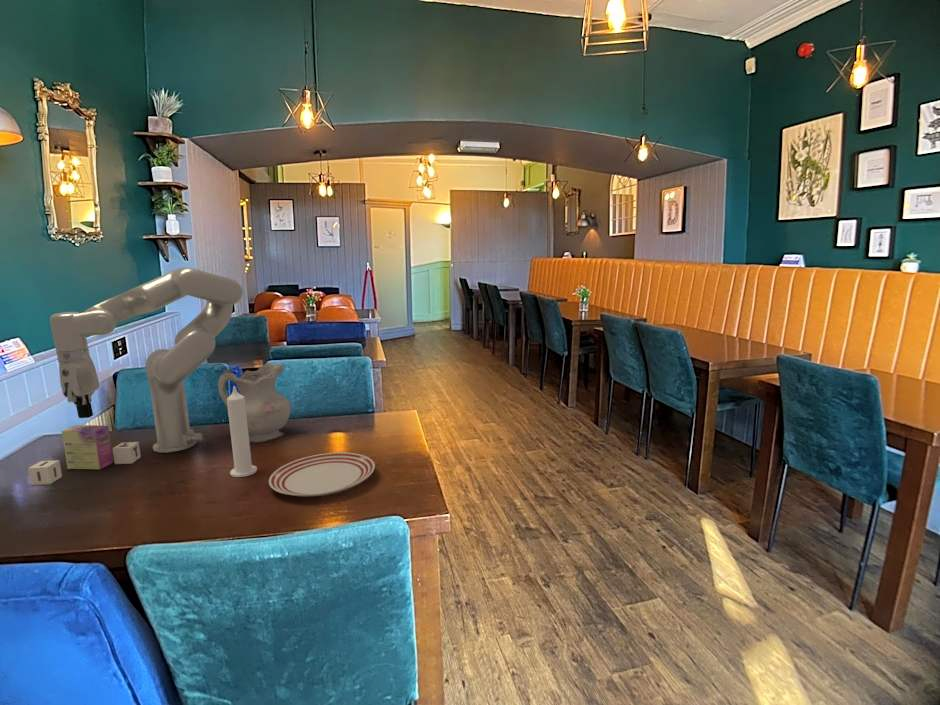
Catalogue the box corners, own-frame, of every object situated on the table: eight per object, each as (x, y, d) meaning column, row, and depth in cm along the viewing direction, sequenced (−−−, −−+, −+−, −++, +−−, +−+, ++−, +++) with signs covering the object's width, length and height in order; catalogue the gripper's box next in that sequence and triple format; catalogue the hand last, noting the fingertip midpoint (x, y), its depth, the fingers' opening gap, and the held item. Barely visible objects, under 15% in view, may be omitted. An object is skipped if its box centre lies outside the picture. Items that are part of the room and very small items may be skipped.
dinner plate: (278, 515, 130) (277, 502, 130) (262, 475, 154) (261, 463, 154) (389, 489, 143) (389, 477, 142) (359, 455, 167) (358, 445, 166)
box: (114, 462, 167) (108, 424, 164) (100, 470, 161) (93, 431, 159) (82, 462, 168) (76, 424, 165) (67, 469, 162) (60, 430, 160)
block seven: (141, 457, 170) (139, 441, 169) (132, 463, 165) (130, 447, 164) (124, 458, 170) (121, 442, 169) (114, 464, 165) (112, 447, 164)
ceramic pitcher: (248, 455, 172) (244, 378, 166) (210, 441, 182) (205, 367, 176) (303, 435, 190) (301, 364, 184) (265, 423, 200) (262, 355, 194)
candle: (262, 468, 158) (253, 383, 154) (245, 478, 152) (235, 390, 147) (242, 466, 161) (233, 382, 156) (224, 475, 154) (214, 388, 149)
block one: (62, 477, 157) (59, 459, 156) (50, 484, 152) (47, 466, 151) (43, 478, 156) (40, 460, 156) (30, 485, 151) (27, 467, 150)
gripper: (70, 360, 151) (83, 424, 155) (102, 349, 166) (113, 408, 169) (41, 362, 151) (55, 426, 154) (76, 351, 165) (88, 410, 169)
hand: (86, 416), depth 162 cm, fingers closed
